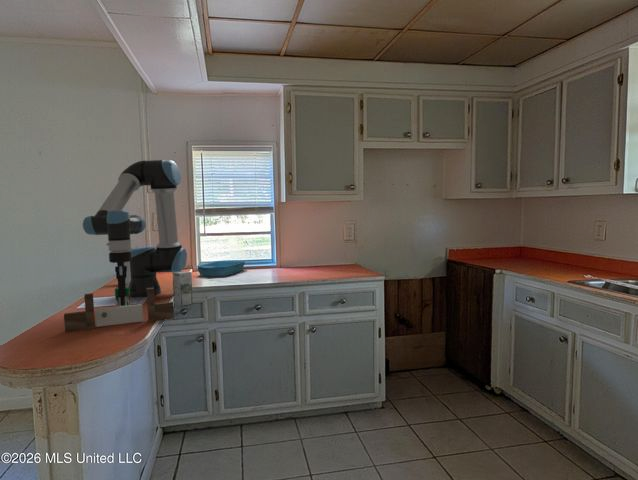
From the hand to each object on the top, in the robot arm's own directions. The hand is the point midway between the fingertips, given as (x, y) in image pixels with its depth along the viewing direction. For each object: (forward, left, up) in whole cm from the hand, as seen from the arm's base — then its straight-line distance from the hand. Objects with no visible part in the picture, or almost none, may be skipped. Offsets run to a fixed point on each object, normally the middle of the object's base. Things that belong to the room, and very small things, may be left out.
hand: (123, 311), depth 154 cm
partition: (+9, 0, -2) cm, 10 cm away
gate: (+10, -1, -2) cm, 10 cm away
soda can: (0, 0, -2) cm, 2 cm away
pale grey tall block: (-81, +3, -3) cm, 81 cm away
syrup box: (-11, +23, -3) cm, 25 cm away
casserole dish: (-91, +57, -3) cm, 107 cm away
